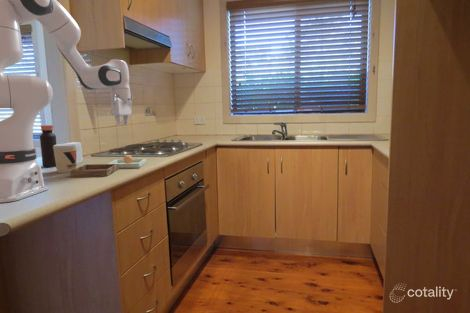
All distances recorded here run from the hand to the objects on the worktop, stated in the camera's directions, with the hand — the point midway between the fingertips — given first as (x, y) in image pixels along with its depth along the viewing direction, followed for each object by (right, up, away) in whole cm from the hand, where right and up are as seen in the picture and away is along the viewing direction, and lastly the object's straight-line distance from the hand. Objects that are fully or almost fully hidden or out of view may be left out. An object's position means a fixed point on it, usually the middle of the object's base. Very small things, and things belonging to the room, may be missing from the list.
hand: (122, 125), depth 157 cm
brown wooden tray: (-7, -22, -14) cm, 27 cm away
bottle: (-37, -20, +5) cm, 42 cm away
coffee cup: (-22, -22, -8) cm, 32 cm away
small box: (-30, -19, +14) cm, 38 cm away
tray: (+1, -20, +4) cm, 20 cm away
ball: (+1, -17, +5) cm, 17 cm away
